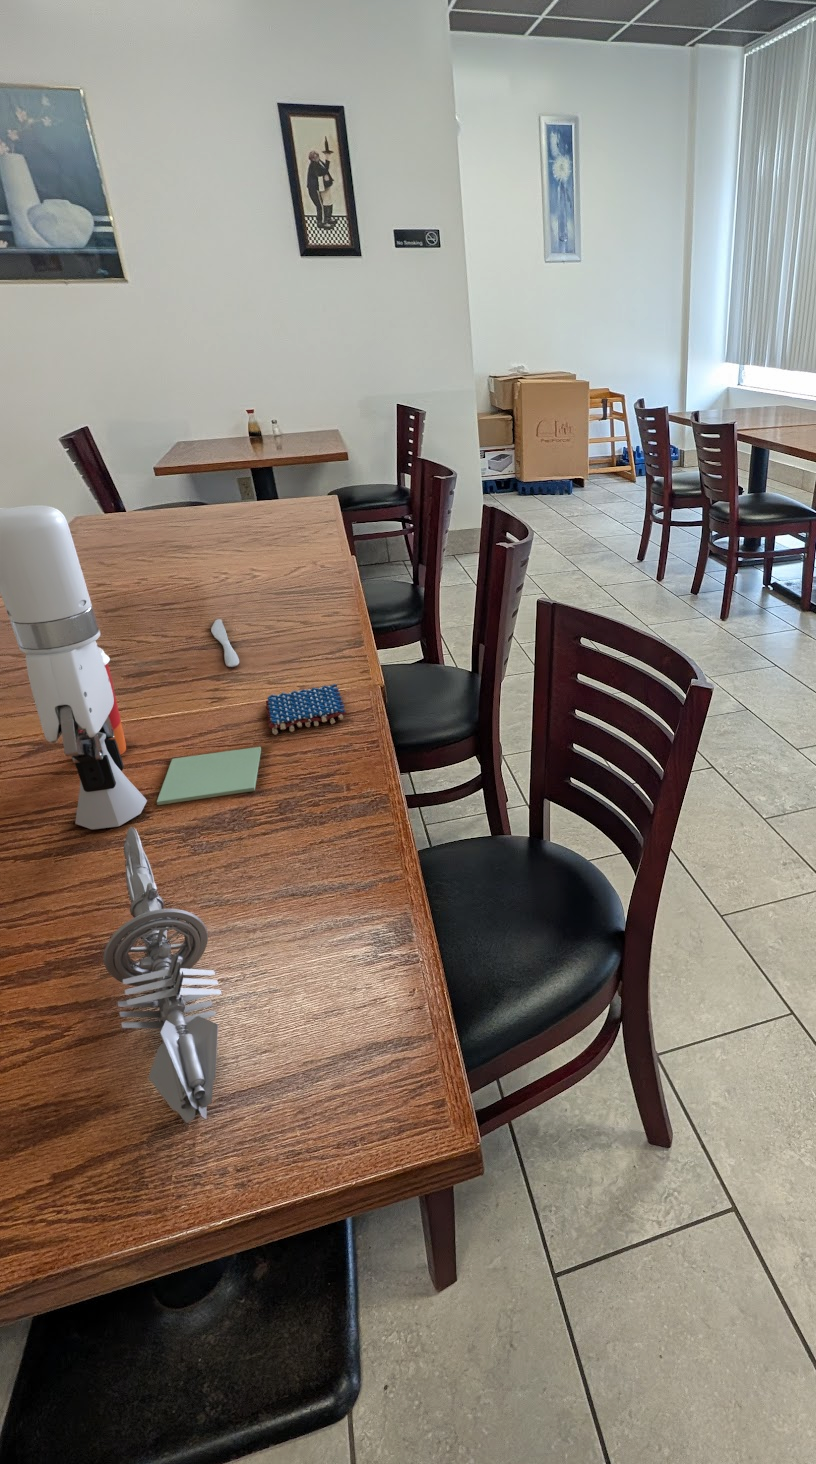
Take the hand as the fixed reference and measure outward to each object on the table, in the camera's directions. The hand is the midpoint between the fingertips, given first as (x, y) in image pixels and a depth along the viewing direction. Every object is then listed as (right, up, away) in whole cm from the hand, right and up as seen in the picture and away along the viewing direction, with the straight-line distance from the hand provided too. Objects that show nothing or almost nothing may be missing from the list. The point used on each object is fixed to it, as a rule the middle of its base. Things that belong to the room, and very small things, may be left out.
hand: (104, 779), depth 93 cm
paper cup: (-9, +2, +16) cm, 18 cm away
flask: (0, -4, +2) cm, 5 cm away
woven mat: (+15, +7, +25) cm, 30 cm away
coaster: (+8, 0, +9) cm, 13 cm away
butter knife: (-8, +20, +52) cm, 56 cm away
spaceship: (+18, -16, -23) cm, 33 cm away
